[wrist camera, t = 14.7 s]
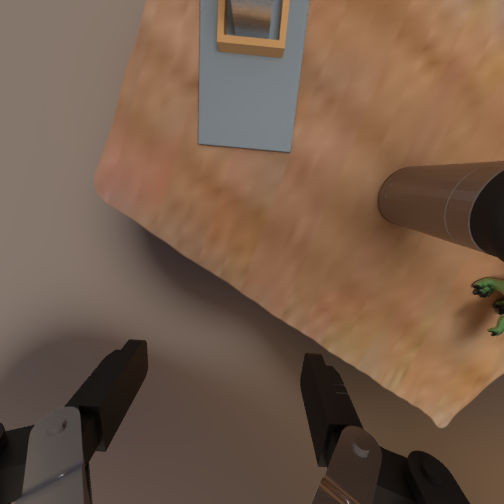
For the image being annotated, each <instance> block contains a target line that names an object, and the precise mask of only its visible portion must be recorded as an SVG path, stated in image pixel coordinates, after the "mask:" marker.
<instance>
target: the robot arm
mask: <svg viewBox="0 0 504 504" xmlns="http://www.w3.org/2000/svg"><path fill="white" fill-rule="evenodd" d="M378 203H379V209H380V212H381V213H382V215H383V216H384V217H385V218H386V219H387V220H388V221H390V222H392V223H395V224H398V225H401V226H404V227H407V228H410V229H413V230H416V231H419V232H422V233H425V234H428V235H431V236H434V237H437V238H440V239H443V240H446V241H449V242H452V243H455V244H458V245H461V246H464V247H468V248H471V249H474V250H477V251H480V252H483V253H486V254H489V255H492V256H495V257H498V258H499V259H500V260H502V261H503V262H504V161H496V162H480V163H465V164H449V165H433V166H416V167H406V168H403V169H400V170H398V171H396V172H395V173H393V174H392V175H391V176H390V177H389V178H388V179H387V180H386V181H385V182H384V184H383V186H382V188H381V190H380V193H379V199H378ZM147 370H148V355H147V342H146V341H145V340H132V339H130V340H128V342H127V343H126V344H125V345H124V347H123V348H122V349H121V350H115V351H113V352H112V353H110V354H109V355H107V356H106V357H105V358H104V359H103V360H102V362H101V363H100V364H99V365H98V367H97V368H96V369H95V370H94V371H93V373H92V374H91V376H89V377H88V379H87V380H86V381H85V382H84V383H83V385H82V386H81V387H80V388H79V389H78V391H77V392H76V393H75V394H74V396H73V397H72V398H71V399H70V400H69V402H68V403H67V404H66V405H65V406H64V407H63V408H59V409H56V410H54V411H52V412H50V413H48V414H47V415H45V416H44V417H43V418H41V419H40V420H39V421H38V422H37V423H36V424H35V425H32V426H27V427H23V428H18V429H14V430H10V431H5V429H4V426H3V424H2V423H0V504H11V502H14V501H15V504H93V500H92V488H91V477H90V465H89V461H90V459H91V457H92V456H93V454H94V452H95V451H103V452H105V451H106V450H107V448H108V446H109V444H110V443H111V441H112V439H113V437H114V435H115V433H116V431H117V429H118V428H119V426H120V424H121V422H122V420H123V418H124V417H125V415H126V413H127V411H128V409H129V407H130V405H131V404H132V402H133V400H134V398H135V396H136V394H137V392H138V391H139V389H140V387H141V385H142V383H143V381H144V379H145V377H146V374H147ZM300 386H301V392H302V397H303V401H304V406H305V410H306V415H307V419H308V423H309V428H310V433H311V437H312V441H313V446H314V450H315V455H316V459H317V464H318V466H319V467H327V471H326V473H325V476H324V478H323V479H322V480H321V482H320V484H319V487H318V489H317V492H316V494H315V497H314V499H313V501H312V504H470V503H469V501H468V500H467V498H466V497H465V495H464V493H463V492H462V490H461V488H460V487H459V485H458V484H457V482H456V480H455V479H454V477H453V476H452V474H451V473H450V471H449V470H448V469H447V468H446V467H445V466H444V465H443V464H442V463H441V462H440V461H439V460H437V459H436V458H435V457H433V456H432V455H430V454H428V453H425V452H422V451H412V452H411V453H410V454H409V456H408V458H406V457H404V456H401V455H398V454H396V453H393V452H391V451H388V450H386V449H384V448H382V447H381V446H379V444H378V442H377V441H376V440H375V438H374V437H373V436H372V435H371V434H370V433H368V432H367V431H366V430H364V429H363V427H362V424H361V422H360V420H359V418H358V415H357V413H356V411H355V408H354V407H353V404H352V402H351V400H350V397H349V395H348V392H347V390H346V388H345V387H344V383H343V381H342V379H341V377H340V374H339V373H338V372H337V371H336V370H335V369H334V368H333V367H332V366H326V365H325V362H324V360H323V357H322V355H321V354H314V353H306V354H305V356H304V362H303V367H302V372H301V379H300Z"/></svg>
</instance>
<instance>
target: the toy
mask: <svg viewBox="0 0 504 504" xmlns="http://www.w3.org/2000/svg"><path fill="white" fill-rule="evenodd" d="M472 287H474V288H476V289H475V291H474V295H479V296H480V297H483V298H484V297H487V296H488V297H489V296H490V295H491V294H492V293H493V292H494V291H495V290H498V291H499V292H501V293H502V294H503V295H504V280H500V279H494V278H490V277H486V278H483V279H481V280H478V281H477V282H475V283H474V284H473V286H472ZM493 308H494V309H495V308H498V309H499V311H498V314H499V315H501V316H500V317H499V319H498V321H497V325H496V327H495V328H491V329H487V331H488V332H492V334H491V336H498V335H500V334H502V333H503V331H504V315H502V314H504V300H498V301H497V302H496V303H495V305H494V306H493Z"/></svg>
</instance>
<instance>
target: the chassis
mask: <svg viewBox="0 0 504 504" xmlns="http://www.w3.org/2000/svg"><path fill="white" fill-rule="evenodd" d="M308 8H309V0H273V6H272V14H271V23H270V32H269V39H263V38H253V37H243V36H235V29H234V21H233V14H232V6H231V0H201V4H200V73H199V143H198V144H201V145H212V146H223V147H233V148H244V149H255V150H266V151H277V152H288V153H290V152H291V144H292V136H293V128H294V120H295V112H296V104H297V96H298V88H299V80H300V72H301V64H302V56H303V48H304V40H305V32H306V24H307V16H308Z"/></svg>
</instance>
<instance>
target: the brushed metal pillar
mask: <svg viewBox="0 0 504 504" xmlns="http://www.w3.org/2000/svg"><path fill="white" fill-rule="evenodd" d="M231 6H232V14H233V21H234V29H235V36H243V37H253V38H263V39H269V32H270V23H271V14H272V6H273V0H231Z"/></svg>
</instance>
